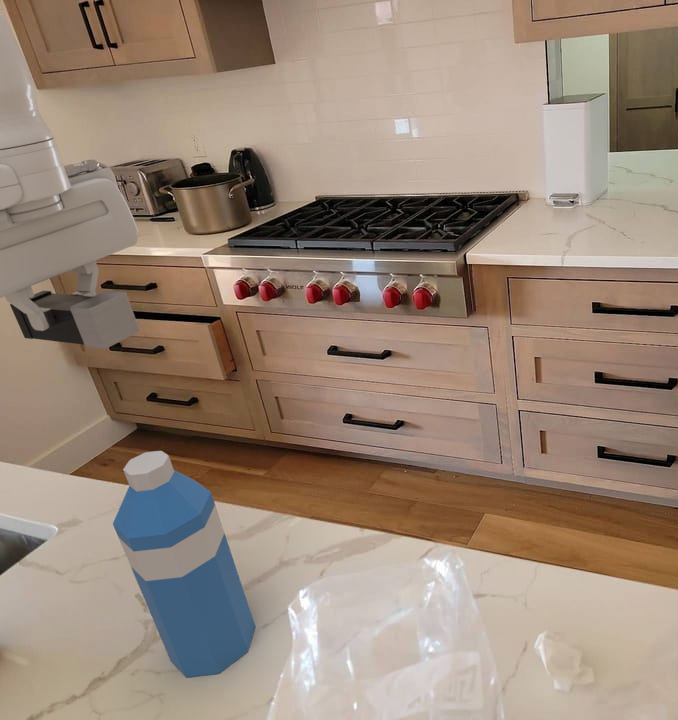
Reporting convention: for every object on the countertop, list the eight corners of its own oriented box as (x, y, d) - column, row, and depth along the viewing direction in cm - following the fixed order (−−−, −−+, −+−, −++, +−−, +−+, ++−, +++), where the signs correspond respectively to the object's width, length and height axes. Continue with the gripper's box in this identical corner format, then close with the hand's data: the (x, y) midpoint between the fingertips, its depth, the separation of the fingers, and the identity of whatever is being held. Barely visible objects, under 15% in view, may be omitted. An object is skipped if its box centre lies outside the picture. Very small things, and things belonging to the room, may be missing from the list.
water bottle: (221, 687, 72) (148, 498, 61) (151, 668, 75) (70, 485, 64) (272, 619, 80) (216, 441, 68) (207, 604, 83) (143, 431, 72)
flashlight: (22, 339, 69) (5, 301, 67) (58, 322, 73) (43, 285, 71) (105, 349, 65) (89, 308, 63) (140, 331, 68) (126, 292, 66)
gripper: (84, 156, 72) (128, 279, 78) (-130, 208, 55) (-54, 359, 61) (127, 154, 69) (169, 282, 75) (-84, 208, 53) (-9, 366, 59)
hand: (67, 317), depth 68 cm, fingers closed on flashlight, 3 cm apart
